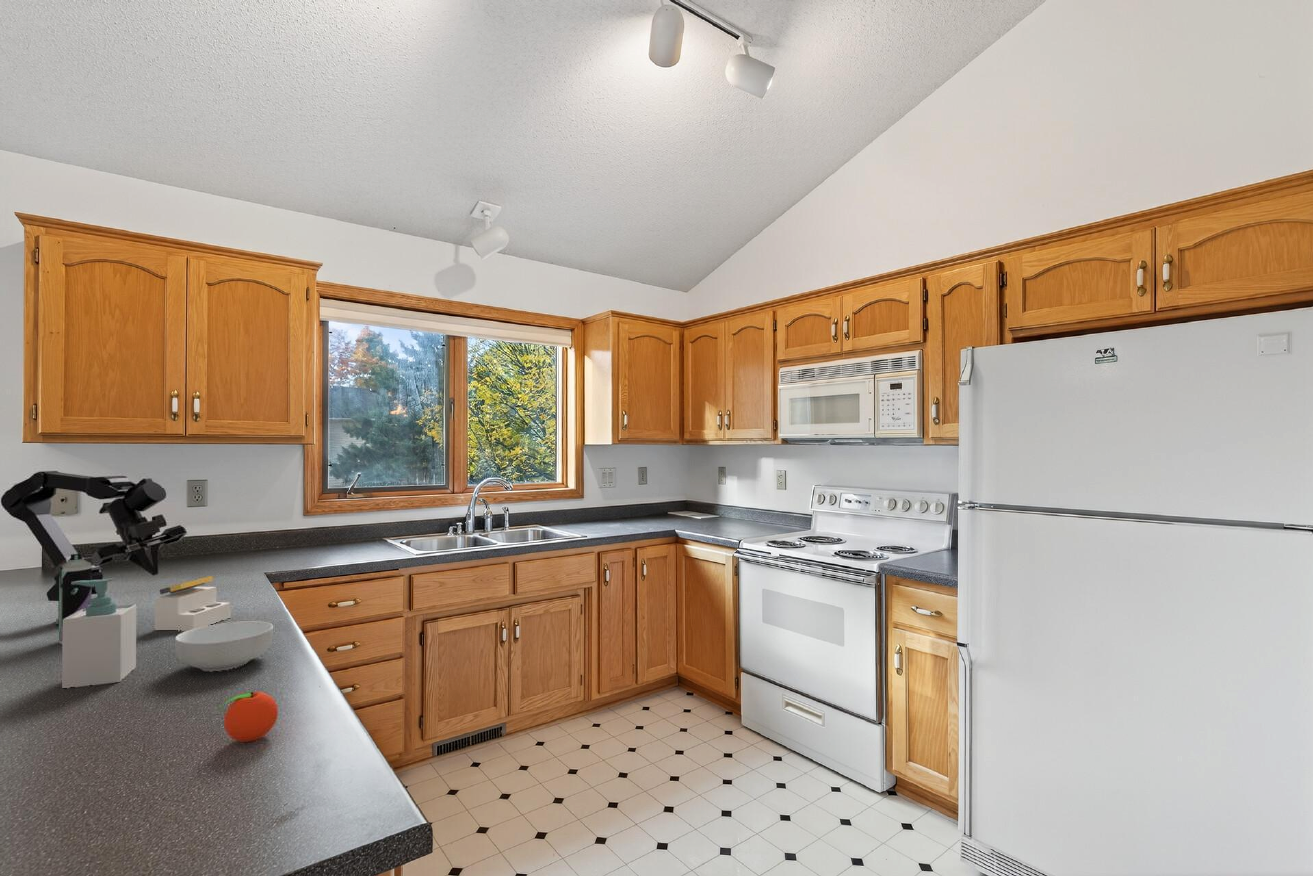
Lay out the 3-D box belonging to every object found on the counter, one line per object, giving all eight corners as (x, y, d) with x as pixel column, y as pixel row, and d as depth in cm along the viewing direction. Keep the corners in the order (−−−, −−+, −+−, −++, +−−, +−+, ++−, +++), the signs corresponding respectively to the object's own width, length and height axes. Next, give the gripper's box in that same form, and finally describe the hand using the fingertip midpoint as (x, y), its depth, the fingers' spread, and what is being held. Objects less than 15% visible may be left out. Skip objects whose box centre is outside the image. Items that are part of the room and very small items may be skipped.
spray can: (71, 645, 143) (72, 556, 143) (52, 643, 144) (53, 555, 144) (97, 637, 148) (98, 552, 149) (78, 636, 150) (79, 551, 150)
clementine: (210, 755, 92) (210, 705, 92) (221, 735, 98) (221, 689, 98) (274, 744, 95) (274, 697, 95) (281, 726, 101) (281, 681, 101)
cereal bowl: (284, 664, 130) (284, 629, 130) (184, 687, 118) (185, 649, 118) (259, 647, 141) (259, 615, 142) (166, 666, 129) (166, 631, 129)
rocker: (161, 596, 155) (159, 589, 155) (194, 587, 165) (192, 581, 165) (181, 590, 155) (180, 584, 155) (213, 582, 165) (212, 575, 165)
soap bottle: (80, 674, 125) (81, 576, 125) (136, 668, 128) (137, 573, 128) (60, 689, 117) (61, 585, 117) (120, 682, 120) (120, 581, 120)
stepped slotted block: (155, 630, 154) (155, 597, 154) (194, 617, 166) (195, 586, 166) (193, 631, 153) (193, 598, 154) (230, 618, 165) (231, 587, 166)
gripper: (92, 519, 149) (121, 578, 148) (180, 497, 165) (207, 549, 164) (79, 537, 155) (107, 594, 154) (166, 514, 171) (192, 565, 170)
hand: (155, 574), depth 160 cm, fingers closed
